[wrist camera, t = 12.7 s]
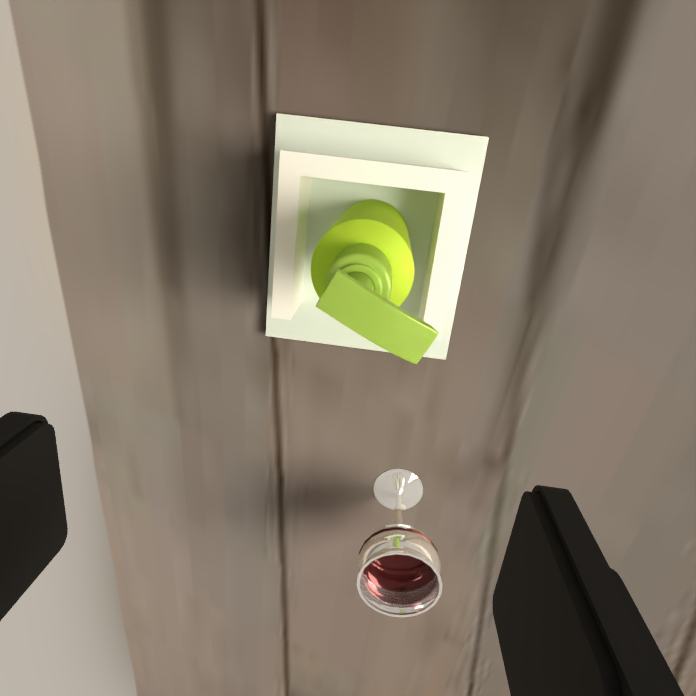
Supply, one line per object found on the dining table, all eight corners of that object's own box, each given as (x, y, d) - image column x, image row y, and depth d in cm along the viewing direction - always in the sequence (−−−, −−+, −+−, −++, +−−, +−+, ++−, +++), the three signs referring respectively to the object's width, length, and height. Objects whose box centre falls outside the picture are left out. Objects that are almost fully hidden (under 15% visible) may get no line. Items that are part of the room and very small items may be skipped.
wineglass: (380, 524, 52) (376, 626, 40) (353, 473, 50) (341, 564, 38) (442, 506, 50) (455, 606, 39) (417, 452, 48) (424, 541, 37)
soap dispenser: (393, 292, 42) (392, 402, 23) (322, 248, 41) (262, 325, 22) (433, 232, 40) (468, 299, 21) (360, 184, 39) (328, 210, 20)
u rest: (279, 114, 38) (259, 107, 33) (486, 137, 38) (502, 134, 32) (268, 332, 45) (250, 356, 39) (444, 355, 44) (451, 383, 39)
